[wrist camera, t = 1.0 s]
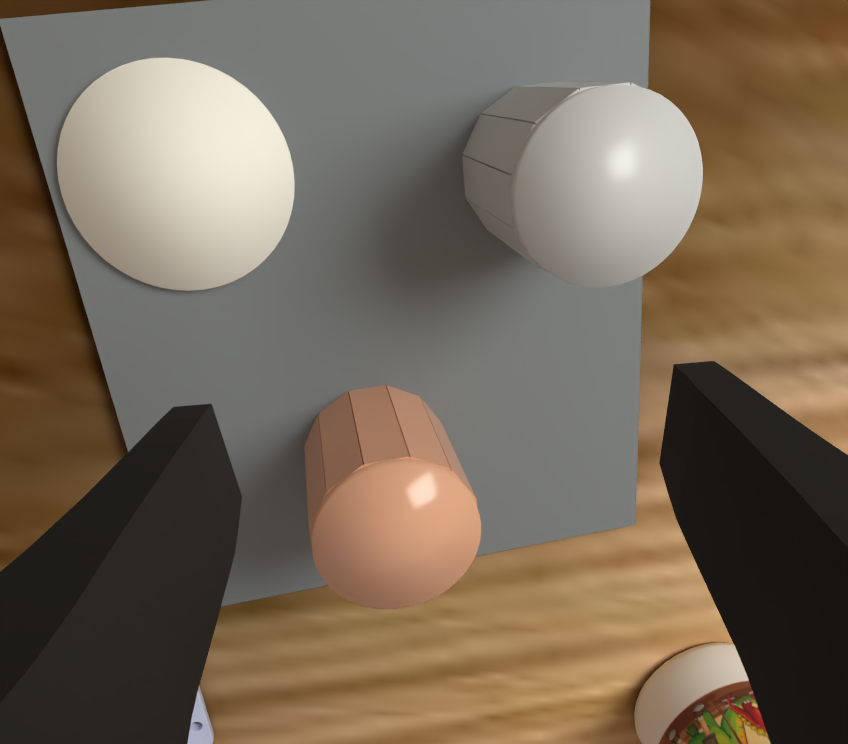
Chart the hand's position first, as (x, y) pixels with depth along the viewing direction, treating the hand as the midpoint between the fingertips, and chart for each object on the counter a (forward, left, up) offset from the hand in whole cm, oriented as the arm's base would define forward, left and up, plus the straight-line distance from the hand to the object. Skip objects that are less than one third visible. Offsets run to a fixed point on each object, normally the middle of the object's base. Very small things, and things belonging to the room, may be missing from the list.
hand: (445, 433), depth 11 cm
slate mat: (-3, -1, -15) cm, 15 cm away
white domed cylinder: (+2, -7, -15) cm, 16 cm away
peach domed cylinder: (-8, 0, -15) cm, 17 cm away
